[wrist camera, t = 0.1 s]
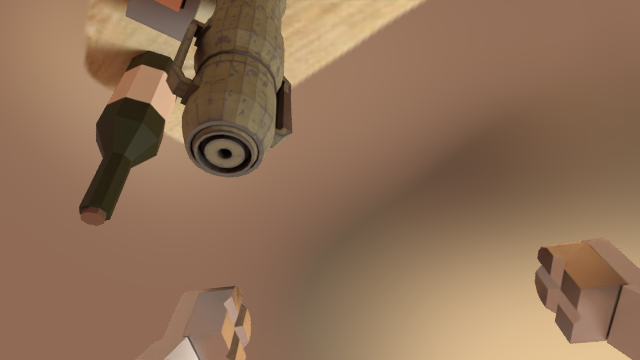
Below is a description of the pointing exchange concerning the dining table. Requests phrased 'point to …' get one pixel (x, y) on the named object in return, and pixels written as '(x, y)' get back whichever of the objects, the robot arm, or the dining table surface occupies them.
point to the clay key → (172, 4)
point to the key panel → (164, 16)
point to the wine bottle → (129, 131)
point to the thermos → (234, 87)
